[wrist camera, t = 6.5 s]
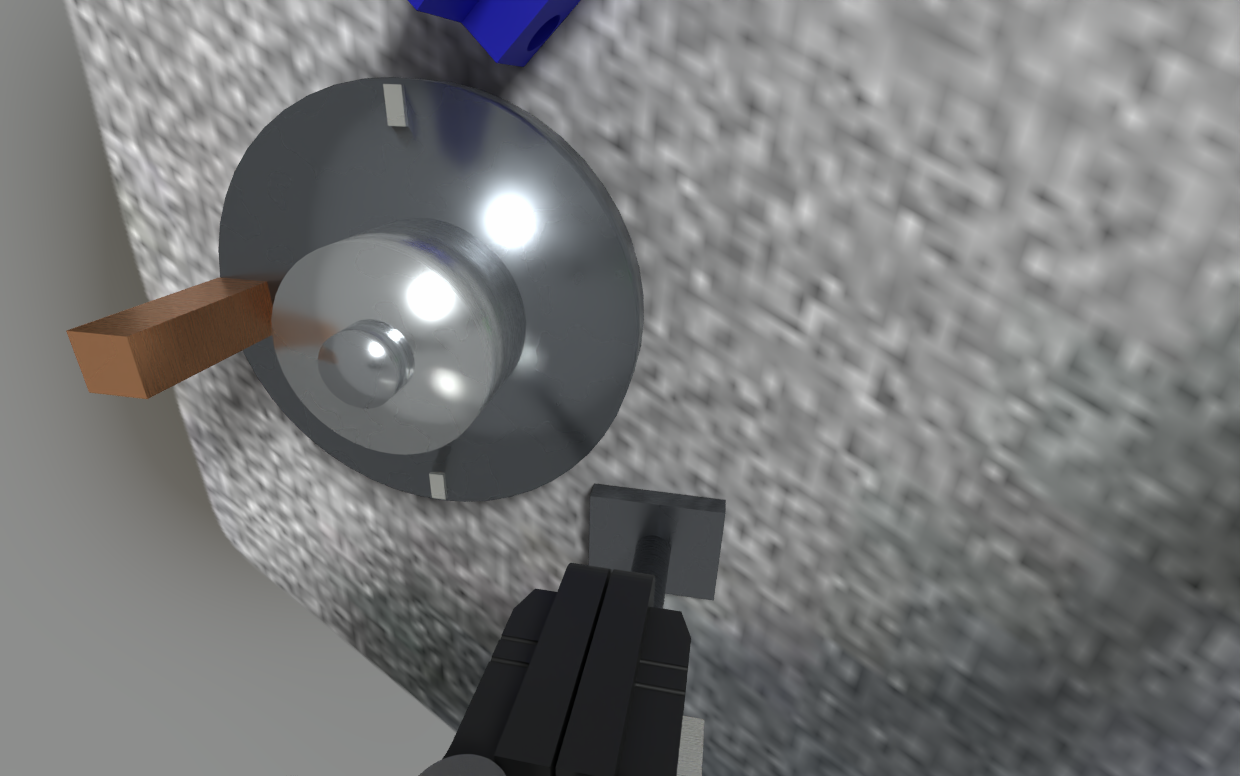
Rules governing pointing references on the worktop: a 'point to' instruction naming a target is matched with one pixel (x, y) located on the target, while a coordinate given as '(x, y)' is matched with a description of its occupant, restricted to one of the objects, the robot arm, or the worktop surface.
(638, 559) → the grey stand with block
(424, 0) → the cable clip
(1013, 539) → the worktop surface
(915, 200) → the worktop surface
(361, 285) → the cover
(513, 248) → the grey pot lid
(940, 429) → the worktop surface
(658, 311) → the worktop surface
